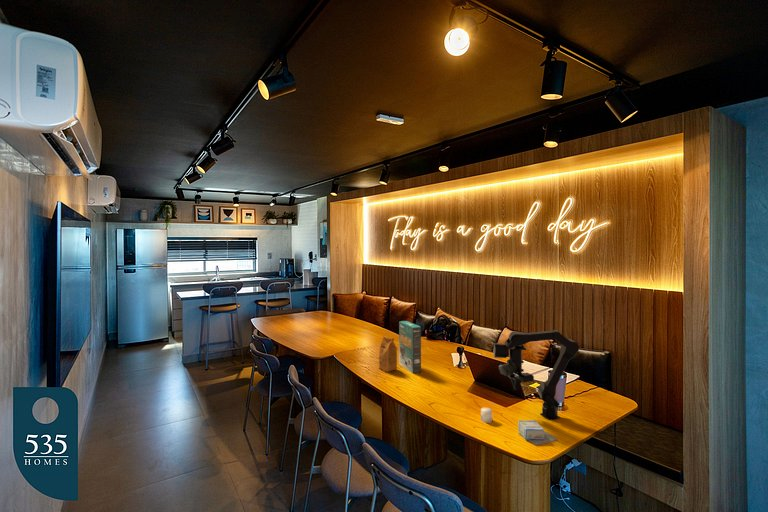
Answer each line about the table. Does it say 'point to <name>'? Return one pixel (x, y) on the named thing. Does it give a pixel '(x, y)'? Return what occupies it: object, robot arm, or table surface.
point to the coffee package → (387, 355)
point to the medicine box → (531, 430)
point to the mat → (546, 439)
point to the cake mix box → (410, 346)
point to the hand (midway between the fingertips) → (515, 390)
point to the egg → (486, 415)
